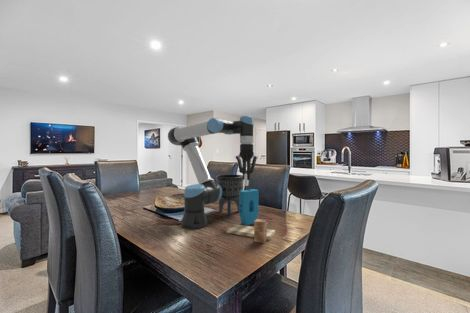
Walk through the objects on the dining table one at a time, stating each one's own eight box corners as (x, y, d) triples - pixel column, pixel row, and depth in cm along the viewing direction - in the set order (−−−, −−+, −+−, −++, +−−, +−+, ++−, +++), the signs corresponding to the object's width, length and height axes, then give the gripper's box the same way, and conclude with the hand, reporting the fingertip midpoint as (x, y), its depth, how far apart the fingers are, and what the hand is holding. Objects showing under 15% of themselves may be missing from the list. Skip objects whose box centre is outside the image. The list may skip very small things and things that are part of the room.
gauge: (253, 241, 109) (253, 221, 108) (261, 233, 120) (261, 215, 119) (263, 243, 107) (263, 222, 106) (270, 235, 117) (271, 216, 117)
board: (226, 232, 121) (226, 229, 121) (234, 226, 130) (234, 223, 130) (269, 240, 111) (269, 236, 111) (275, 233, 120) (275, 229, 120)
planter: (210, 213, 157) (210, 176, 157) (226, 208, 174) (226, 173, 173) (234, 218, 147) (234, 178, 146) (248, 211, 163) (248, 175, 163)
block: (243, 226, 132) (243, 192, 131) (238, 223, 136) (238, 190, 135) (259, 222, 139) (259, 190, 138) (253, 220, 143) (254, 189, 142)
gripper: (233, 143, 127) (233, 185, 127) (255, 143, 121) (255, 187, 122) (238, 144, 133) (238, 183, 134) (259, 143, 128) (259, 185, 128)
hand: (246, 185), depth 128 cm, fingers closed
